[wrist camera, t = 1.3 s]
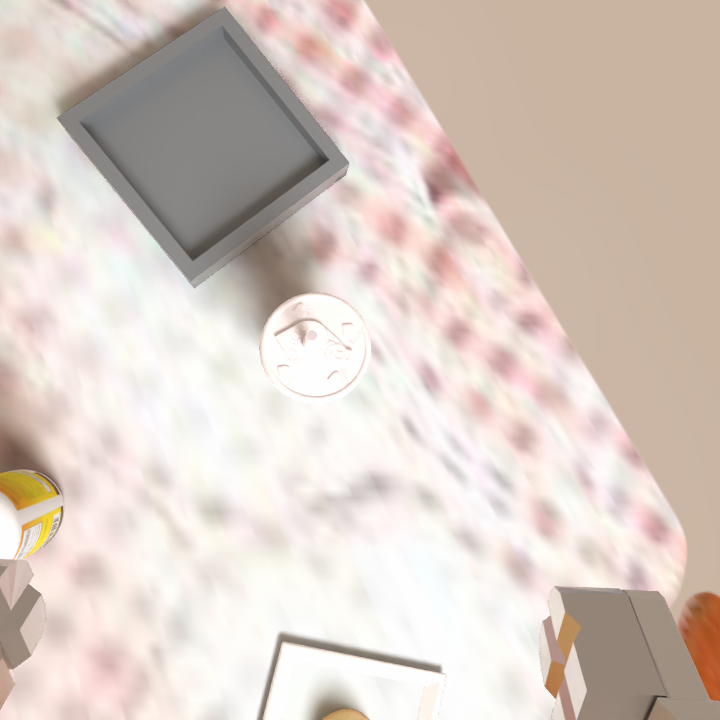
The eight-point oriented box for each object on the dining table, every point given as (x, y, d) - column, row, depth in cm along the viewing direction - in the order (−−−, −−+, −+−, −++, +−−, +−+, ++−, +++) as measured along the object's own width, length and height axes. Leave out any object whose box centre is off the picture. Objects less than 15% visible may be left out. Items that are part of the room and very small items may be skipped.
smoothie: (275, 306, 43) (275, 259, 30) (360, 329, 44) (400, 293, 30) (252, 392, 43) (241, 384, 29) (339, 414, 43) (369, 417, 30)
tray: (67, 132, 42) (56, 117, 40) (227, 26, 44) (224, 6, 42) (194, 288, 43) (190, 281, 40) (345, 174, 45) (349, 163, 43)
